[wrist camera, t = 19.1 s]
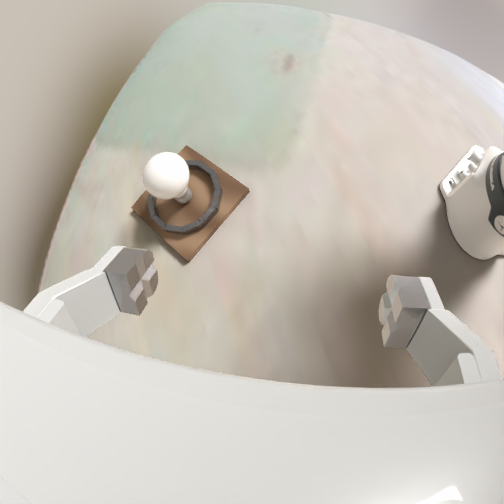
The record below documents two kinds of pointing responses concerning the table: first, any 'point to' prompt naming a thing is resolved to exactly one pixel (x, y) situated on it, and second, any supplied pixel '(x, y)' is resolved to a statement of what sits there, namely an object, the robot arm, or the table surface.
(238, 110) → the table surface
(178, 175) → the lightbulb
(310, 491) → the robot arm
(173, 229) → the collar
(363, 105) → the table surface
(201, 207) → the board
